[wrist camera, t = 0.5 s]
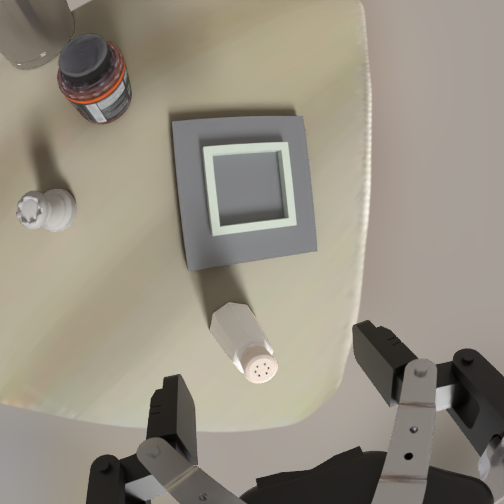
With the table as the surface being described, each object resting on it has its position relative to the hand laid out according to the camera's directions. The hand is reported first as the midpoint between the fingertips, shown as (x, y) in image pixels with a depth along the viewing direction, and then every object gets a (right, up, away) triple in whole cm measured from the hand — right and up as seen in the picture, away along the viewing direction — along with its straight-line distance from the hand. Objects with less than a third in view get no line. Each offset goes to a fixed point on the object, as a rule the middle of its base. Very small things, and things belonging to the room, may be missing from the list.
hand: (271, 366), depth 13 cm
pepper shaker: (-3, -3, +21) cm, 22 cm away
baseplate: (-2, +12, +20) cm, 23 cm away
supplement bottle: (-16, +21, +15) cm, 30 cm away
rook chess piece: (-21, +9, +15) cm, 27 cm away
